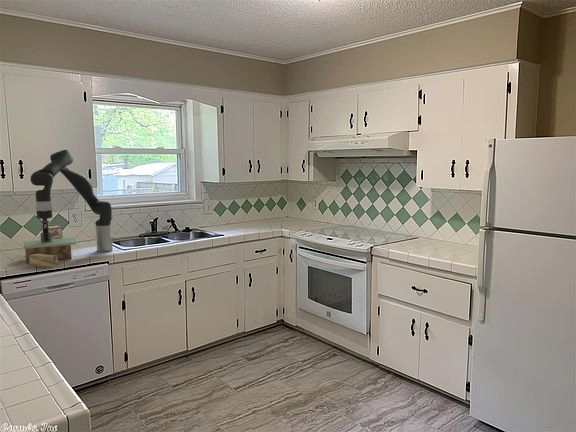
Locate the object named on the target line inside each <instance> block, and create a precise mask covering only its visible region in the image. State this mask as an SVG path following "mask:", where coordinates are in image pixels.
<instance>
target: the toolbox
mask: <svg viewBox="0 0 576 432" xmlns="http://www.w3.org/2000/svg"><path fill="white" fill-rule="evenodd" d="M71 246H72V245H60V246H48V247H36V248H24V249H25V250H24V251H25V264H27V265H28V264H30V260H29V255H32V254H44V255H57V257H58V261H67V260H72V247H71Z"/></svg>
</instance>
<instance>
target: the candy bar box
mask: <svg viewBox="0 0 576 432" xmlns="http://www.w3.org/2000/svg"><path fill="white" fill-rule="evenodd" d="M48 232H51V239H64V238H63V227H62V226H61V225H55V226H49V230H48ZM41 233H43V230H42V229H41Z"/></svg>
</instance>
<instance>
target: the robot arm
mask: <svg viewBox="0 0 576 432" xmlns="http://www.w3.org/2000/svg"><path fill="white" fill-rule="evenodd" d="M49 159H50V162H49V163H48V164H46V165H45V166H44V167H43V168H41V169H39V170H36V171H34V172H33V173H32V174H31V175H30V180H29V181H30V182H31V184H32V185H34V186H37V187H39V186H40V187H41V186H44V187H43V189H38V190H36V191H35V210H36V219H38V220H39V219H40V220H42V221H40V225H41V231H42V230H43V235H44V241H49V239H48V234H49V232H48V230H49V227H50V221H49V220H48V219H52V218H53V207H52V206H53V205H52V198H51V191H52V187H53V183H54V182H53V181H54V177H55V176H57V175H58V174H59V173H61V174H62V175H63V176H64V177H65V179H66V180H67V181H68V182H69V183H70V185H72V187H74V189H75V190H76V191H77V192H78V194H79V195H80V196H81V197H82V198H83V199H84V201H85V202H86V203H87V205H88V207H89V208H90V209H91V211H92V212H93V213H94V214H95V215H98V216H99V219H97V220H95V240H96V251H97V252H101V253H102V252H111V251H113V238H112V230H111V229H112V227H111V224H112V217H113V216H112V205H111V203H110V202H109V201H107V200H100V199H98V197H97V196H96V195H95V193H94V189H93V185H92V184H91V182H90V181H89V179H88V178H87V177H86V176H85V175H84V174H81V173H79V172H77V171H74V170H72V169H70V168H69V167H68V166H69V165H72V163H74V156H73V154H72V152H71V151H69V150H68V149H63V150H62V149H61V150H60V151H57V152H54V153H52V154H50V156H49Z"/></svg>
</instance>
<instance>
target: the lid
mask: <svg viewBox="0 0 576 432" xmlns="http://www.w3.org/2000/svg"><path fill="white" fill-rule="evenodd" d="M48 239H49V241H44V235H43V233H42V232H41V233H40V240H28V241H27V240H26V241H24V242H23V249H25V248H36V247H48V246H60V245H71V246H72V245H77V240H76V238H75V237H65V238H63V239H51V232H49V234H48Z"/></svg>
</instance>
